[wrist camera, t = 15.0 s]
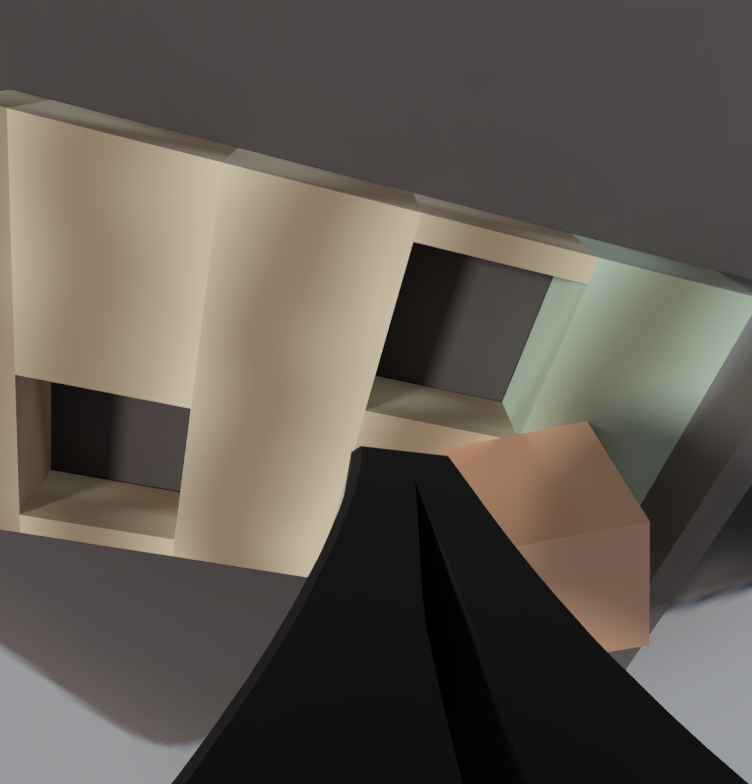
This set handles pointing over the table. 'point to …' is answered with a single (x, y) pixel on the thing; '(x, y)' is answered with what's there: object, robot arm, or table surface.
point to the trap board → (325, 344)
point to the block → (570, 524)
